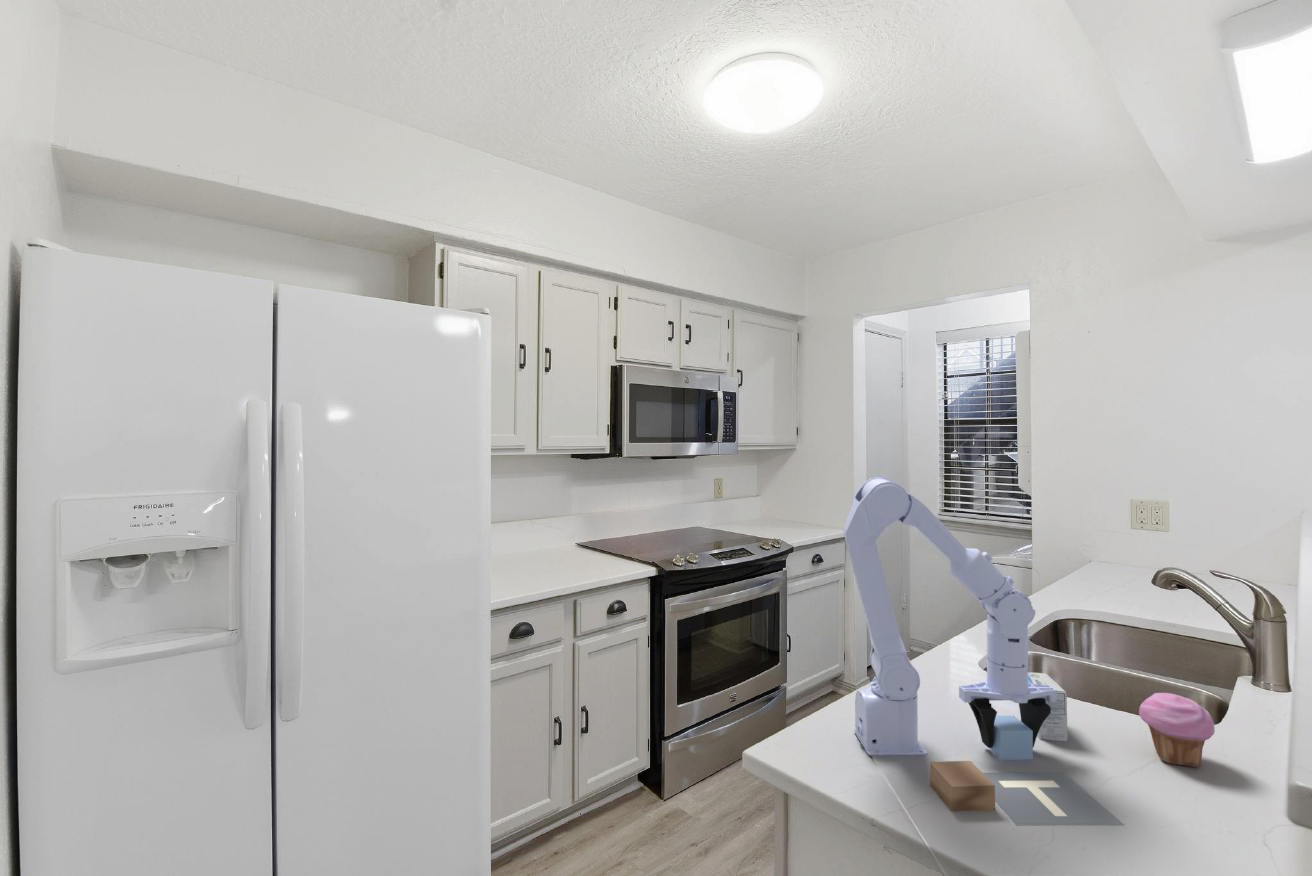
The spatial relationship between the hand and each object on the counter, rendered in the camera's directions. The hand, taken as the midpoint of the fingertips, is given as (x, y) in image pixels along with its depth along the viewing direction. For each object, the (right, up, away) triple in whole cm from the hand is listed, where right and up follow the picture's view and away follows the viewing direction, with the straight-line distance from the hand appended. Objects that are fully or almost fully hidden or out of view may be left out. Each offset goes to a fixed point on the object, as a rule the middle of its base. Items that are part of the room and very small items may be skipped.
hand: (1007, 744), depth 96 cm
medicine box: (+10, -1, +7) cm, 12 cm away
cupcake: (+25, -1, -2) cm, 25 cm away
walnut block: (-13, -2, -12) cm, 18 cm away
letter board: (-2, -2, -12) cm, 12 cm away
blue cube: (0, -2, 0) cm, 2 cm away
